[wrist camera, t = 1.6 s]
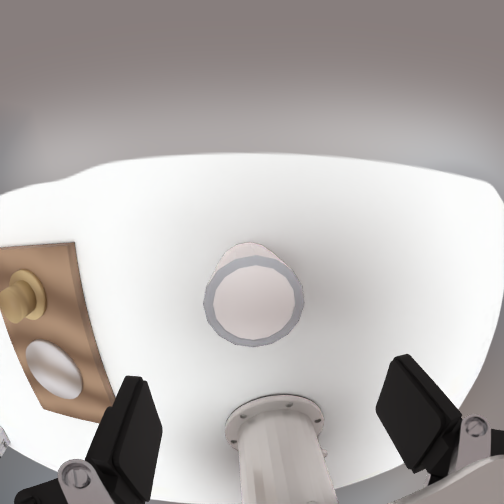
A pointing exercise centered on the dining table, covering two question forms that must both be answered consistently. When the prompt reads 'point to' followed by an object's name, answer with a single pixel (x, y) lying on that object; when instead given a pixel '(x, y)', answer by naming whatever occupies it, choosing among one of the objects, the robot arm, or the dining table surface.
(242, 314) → the white short cylinder
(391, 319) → the dining table surface
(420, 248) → the dining table surface
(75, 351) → the fitting board
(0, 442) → the light bulb box
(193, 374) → the dining table surface
